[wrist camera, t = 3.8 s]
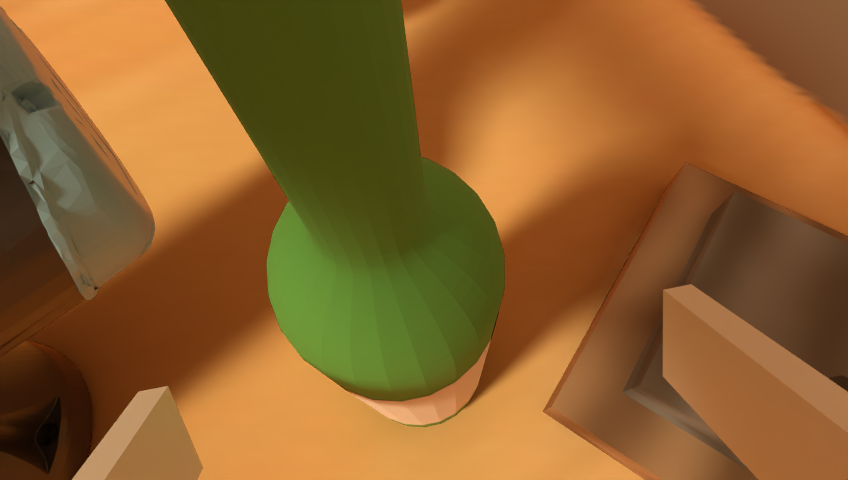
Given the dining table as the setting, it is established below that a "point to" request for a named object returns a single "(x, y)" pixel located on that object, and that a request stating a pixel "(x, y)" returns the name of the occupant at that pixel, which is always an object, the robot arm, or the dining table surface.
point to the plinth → (629, 333)
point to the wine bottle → (358, 201)
